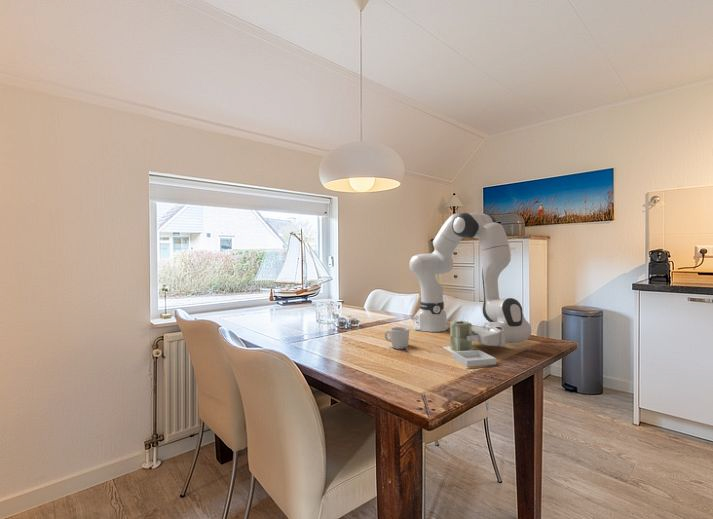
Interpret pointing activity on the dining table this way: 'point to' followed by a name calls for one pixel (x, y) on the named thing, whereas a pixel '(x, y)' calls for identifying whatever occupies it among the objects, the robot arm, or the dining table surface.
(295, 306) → the dining table surface
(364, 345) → the dining table surface
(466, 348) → the sleeve
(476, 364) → the tray
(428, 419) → the dining table surface
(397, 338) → the cup
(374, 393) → the dining table surface
